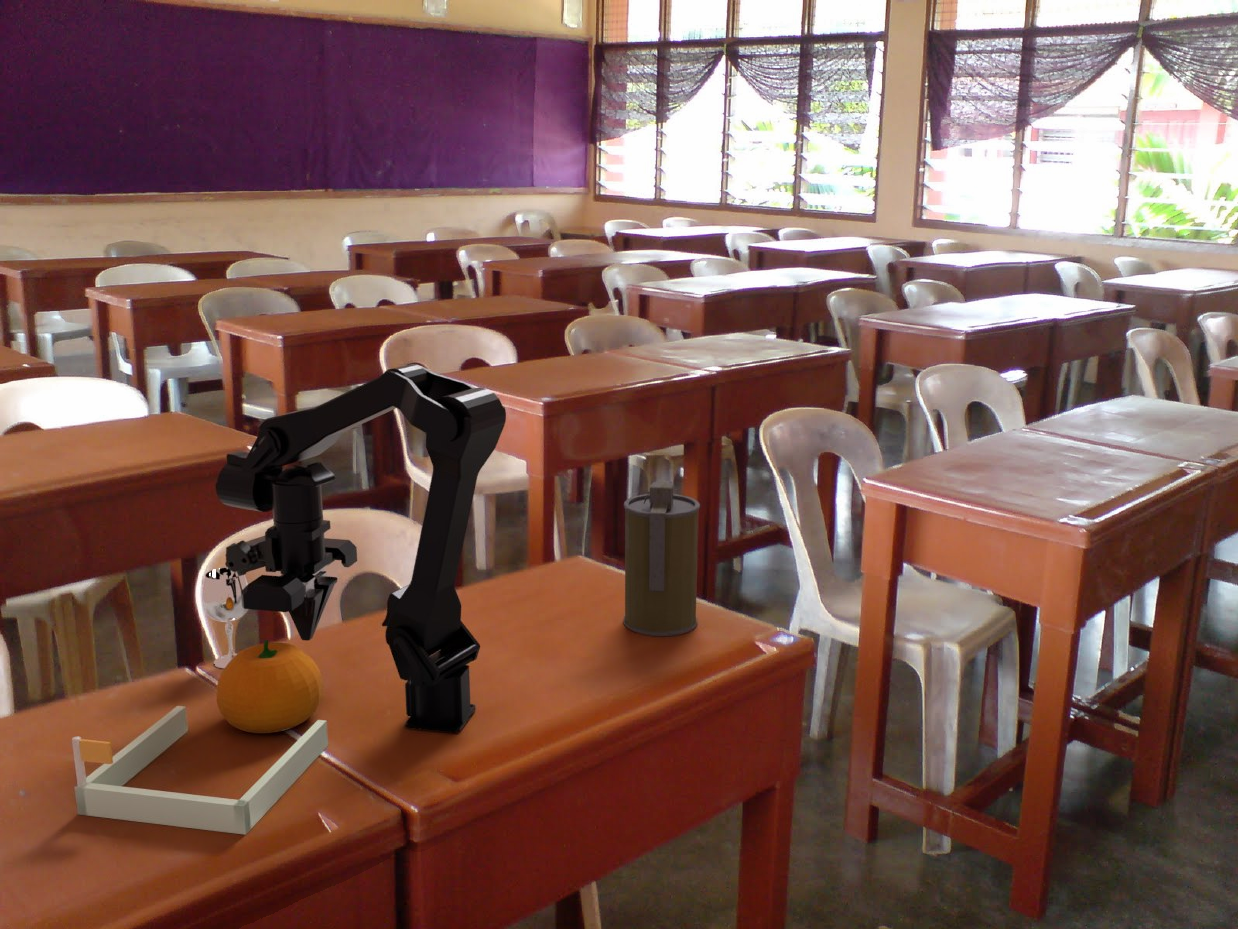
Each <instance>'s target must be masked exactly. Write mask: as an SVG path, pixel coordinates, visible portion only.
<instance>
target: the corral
mask: <svg viewBox="0 0 1238 929" xmlns="http://www.w3.org/2000/svg"><path fill="white" fill-rule="evenodd" d="M187 718H188V716H187V707H186V706H183V705H176V706H175V707H174V708H173V709H172V710H170V711H169V712H168V713H167V714H165V715H164V716H163V717H162V718H160V719H159V720H158V721H156V722H155V723H154V724H152V726H150V727H149V728H148V729H146V730H145V731H144V732H142V733H141V734H139V736H137V737H136V738H135V739H133V740H132V741H131V742H130V743H128V744H127V745H126V746H124V747H123V748H122V749H121V750H119V751H118V752H117V753H115V754H114V755H113V750H112V743H111V741H102V740H95V739H94V740H92V739H84V738H82V737H81V736H73V737H72V738H71V742H72V745H71V746H72V753H73V759H74V767H75V775H76V783H77V784H76V785H75V786H74V795H75V801H76V802H75V803H76V810H77V815H79V816H80V815H82V816H88V817H89V816H90V817H96V818H97V817H98V818H104V819H105V818H106V819H107V818H108V819H114V820H122V821H131V822H139V823H145V824H146V823H148V824H155V825H165V826H171V827H178V828H185V829H186V828H188V829H189V828H190V829H196V830H202V831H203V830H206V831H210V832H211V831H212V832H213V831H214V832H221V833H230V834H236V835H237V834H239V835H244V836H245V835H247V834H249V832H250V831H251V830H252V828H254V826H256V824H257V823H258V822H259V821H260V820H261V819H262V818H263V816H265V814H267V812H268V811H269V810H270V809H271V808H272V807H273V806H274V805H275V804H276V803H277V802H278V801H279V799H281V798H282V796H283V795H284V794H286V792H287V791H288V790H289V789H290V788H291V786H293V784H294V783H295V782H296V781H298V779H299V778H300V777H301V775H302V774H303V773H304V772H305V771H306V770H307V769H308V768H309V767H310V766H311V765H312V764H313V763H314V762H315V760H316V759H318V758H319V756H320V755H321V754H322V753H323V752H324V751H325V750H326V749H327V748H328V747H329V738H328V723H327V720H325V719H324V720H323V719H317V720H316V722H314V724H312V725H311V726H310V727H309V729H307V731H306V732H305V733H303V735H302V736H300V737H299V738H298V739H297V741H295V742H294V744H292V745H291V747H290V748H288V749H287V750H286V752H285V753H284V754H283V755H282V756H280V757H279V759H278V760H277V761H276V762H275V763H274V764H273V765H272V766H271V767H270V768H269V769H268V770H267V771H266V772H265V773H264V774H263V775H262V776H261V777H260V778H259V779H258V780H257V781H256V782H255V783H254V784H253V785H252V786H251V787H250V788H249V789H248V790H247V791H246V792H245V793H244V794H243V796H241V797H240V798H239V799H232V798H225V797H224V798H223V797H216V796H207V795H199V794H192V793H191V794H189V793H182V792H173V791H163V790H156V789H148V788H140V787H139V788H138V787H130V786H124V785H125V784H126V783H128V782H129V781H130V780H131V779H133V778H134V777H135V776H136V775H137V774H138V773H139V772H141V771H142V770H143V769H144V768H146V767H147V766H148V765H149V764H151V762H154V760H155V759H157V758H158V757H159V756H160V755H161V754H162V753H164V752H165V751H166V750H167V749H168V748H170V746H172V745H173V744H174V743H175V742H176V741H178V740H180V739H181V737H183V736H184V735H185V734H186V733H187V732H189V726H188V719H187ZM86 762H89V763H98V764H101V765H100V766H99V767H97V768H96V769H95V770H94V771H92V772H91V773H90V774H89V775H88V776H86V775H87V774H86V768H85V763H86Z"/></svg>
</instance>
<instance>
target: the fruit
mask: <svg viewBox="0 0 1238 929" xmlns="http://www.w3.org/2000/svg"><path fill="white" fill-rule="evenodd" d="M236 654H237V655H236V656H235V657H233V658H232V660H231V661H230V662H229V663H228V664H227V666H226V667H225V668H223V670H222V671H221V673H220V675H219V677H218V679H217V684H216V704H217V708H218V710H219V713H220V714H221V715H222V717H223V718H224V719H225V721H227V722H228V723H229V725H231V726H232V727H233V728H236V729H238V730H241V731H244V732H247V733H251V734H252V733H253V734H271V733H273V734H274V733H278V732H283V731H287V730H289V729H293V728H294V727H296V726H298V725H301V724H303V723H304V722H305V721H307V720H308V719H309V718H311V716H312V715H314V714H315V712H316V710H317V709H318V707H319V705H320V703H321V700H322V698H323V697H322V696H323V693H324V684H323V680H322V679H323V678H322V674H321V671H320V668H319V666H318V665H317V663H316V661H315V660H314V659H313V658H312V657H311V656H309V654H307V653H306V652H305V651H304V650H302V649H301V648H299V647H297V646H296V645H292V644H289V643H284V642H270V641H269V640H264V643H259V644H255V645H252V646H249V647H246V648H244V649H243V650H241V651H239V652H238V653H236Z"/></svg>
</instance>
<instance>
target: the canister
mask: <svg viewBox="0 0 1238 929" xmlns="http://www.w3.org/2000/svg"><path fill="white" fill-rule="evenodd" d="M674 488H675V487H674V482H673V481H671V480H655V481H654V482H652V484H650V486H649V491H647V493H645V494H639V495H636V496H632V497H629V498H627V499H626V500H624V503H623V508H624V509H625V510H624V512H625V514H624V518H625V519H624V521H625V522H624V530H625V531H624V533H625V534H624V535H625V536H624V542H625V543H624V544H625V545H624V547H625V548H624V563H625V564H624V616H623V619H622V620H623V624H624V626H625V627H626V628H627V629H628V630H630V631H633V632H634V633H638V634H641V635H645V636H651V637H673V636H679V635H683V634H686V633H689V632H691V631H693V630H694V629H695V628H696V627H697V626H698V622H699V620H698V617H697V586H698V585H697V581H698V576H697V575H698V547H699V546H698V545H699V544H698V542H699V541H698V539H699V510H700V507H701V504H700V502H699V501H698V500H696V499H695V498H693V497H691V496H687V495H681V494H676V493H674Z"/></svg>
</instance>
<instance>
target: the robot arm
mask: <svg viewBox="0 0 1238 929" xmlns="http://www.w3.org/2000/svg"><path fill="white" fill-rule="evenodd" d="M395 409H398V410H399V411H400V412H401V415H403V416H404V418H405V419H406V420H407V422H408V423H409V424H410V425H411V426H412V427H414V428H416V429H418V430H420V431H421V432H423V433H425V440H424V441H425V444H424V445H425V448H426V451H427V454H428V456H429V459H430V462H431V464H432V474H431V478H430V479H431V480H430V483H429V488H428V492H427V500H426V502H425V503H426V504H425V505H426V506H425V509H424V515H423V519H422V523H421V530H420V535H419V541H418V545H417V550H416V556H415V559H414V564H413V565H414V566H413V570H412V576H411V580H410V581H409V582H410V583H409V584H407V585H406V586H403V587H401V588H399V589H396V590H395V591H394V592H391V593H389V596H388V599H387V600H386V601H387V602H386V615H385V617H384V620H383V622H382V623H381V626H382V627H386V628H385V634H384V635H385V643H386V644H387V645H388V648H389V650H390V653H391V655H392V658H393V662H394V665H395V667H396V670H397V673H398V676H399V678H400V679H401V680H402V681H406V682H405V684H404V692H405V693H404V694H405V708H406V709H405V713H406V716H407V717H408V719H407V720H406V721H405V722H404V727H405V728H406V729H413V730H421V731H422V730H423V731H433V732H444V733H450V734H451V733H454V734H457V733H460V732H461V731H462V730H463V728H464V726H465V725H466V723H467V722H468V721H469V719H470V718H471V716H472V715H473V714H474V712H475V711H476V707H477V706H476V704H473V703H471V682H470V681H471V679H470V665H468V664H470V663H471V662H474V661H476V660H477V658H478V655H479V652H480V649H481V645H480V643H479V642H478V640H477V639H476V638H475V637H474V635H473V634H472V633H471V631H470V630H469V629H468V628H467V626H466V625H465V623H463V621H462V602H461V599H460V598H459V595H458V592H457V590H456V581H457V580H456V579H457V574H458V570H459V566H460V561H461V556H462V551H463V547H464V542H465V538H466V532H467V528H468V523H469V518H470V514H471V510H472V504H473V499H474V495H475V490H476V486H477V481H478V475H479V474H480V471H481V469H483V466H485V464H486V462H487V461H488V460H489V459H490V457H491V456H492V454H493V452H494V451H495V450H496V447H497V445H498V442H499V440H500V437H501V435H502V433H503V431H504V427H505V424H506V421H507V420H506V419H507V412H506V408H505V406H504V405H503V404H502V402H501V400H500V398H499V397H498V396H497V395H496V393H495V392H493V391H491V390H490V389H489V388H485V387H482V386H478V387H475V386H473V385H471V384H470V383H468V382H466V381H463V380H460V379H456V378H453V377H449V376H446V375H442V374H439V373H436V372H434V371H432V370H430V369H428V368H426V367H424V366H422V365H419V364H416V363H411V364H405V365H402V366H398V367H393V368H389V369H387V370H385V371H384V373H382V374H381V375H380V376H377V377H375V378H374V379H371V380H368V381H367V382H365V383H363V384H361V385H358V386H357V387H354V388H352V389H351V390H348V391H346V392H344V393H342V394H340V395H338V396H336V397H333V398H332V399H329V400H327V401H325V402H324V403H321V404H319V405H316V406H312V407H308V408H303V409H299V410H296V411H292V412H291V411H290V412H287V413H284V414H279V415H276V416H272V417H268V418H265V419H263V420H262V421H261V422H260V424H258V428H257V429H258V434H257V438H256V439H255V441H254V443H253V444H252V447H251V448H250V450H249V452H247V451H243V450H237V451H233V452H229V453H227V454H226V464H225V465H224V466H222V468H221V470H220V471H219V473H218V476H217V480H216V483H215V493H216V495H217V499H218V500H220V502H221V503H222V504H223V505H225V506H229V507H233V508H239V509H245V510H251V511H256V512H261V513H267V512H270V511H272V520H273V525H272V526H270V527H269V528H267V529H266V530H265V533H264V535H262V536H260V537H257V538H253V539H249V540H247V541H245V540H241V541H238V542H237V543H236V542H234V543H231V544H230V545H228V546H227V547H225V554H224V555H225V556H224V557H225V563H224V564H225V566H226V567H228V568H229V569H230V570H231V571H233V572H237V574H238V576H242V575H245V576H246V575H247V573H249V572H253V571H255V570H259V569H261V568H264V567H265V568H264V569H265V573H266V572H267V573H276V572H280V575H269V574H266V575H265V574H261V575H259V576H258V577H257V578H255V579H254V580H253V581H251V582H250V583H248V585H247V586H246V587H245V588H244V589H243V590H242V591H241V599H242V607H243V608H244V609H248V610H255V611H267V612H277V613H289V615H290V617H291V620H292V622H293V623H294V627H295V628H296V631H297V632H298V635H299V637H300V640H302V641H310V640H311V639H312V638H313V637H314V635H315V632H316V630H317V627H318V625H319V623H320V620H321V618H322V616H323V614H324V613H323V612H324V610H325V608H326V606H327V603H328V601H329V598H330V596H331V594H332V592H333V590H334V588H335V585H336V584H337V583H338V580H339V579H338V577H337V576H328V572H327V571H326V570H325V568H327V567H328V566H329V565H331V564H332V563H333V562H335V561H341V565H342V566H343V568H350V567H351V566H353V565H354V564H356V562H358V551H357V548H358V547H357V546H356V545H355V544H354V543H353V542H352V541H351V540H350V539H340V538H327V537H325V533H326V532H327V531H329V530H331V520H328V519H327V520H324V510H323V509H324V508H323V497H322V494H323V493H322V485H326V484H328V483H330V482H333V481H336V475H335V474H334V473H333V472H332V471H331V470H329V469H328V468H326V467H325V465H323V462H321V461H317V462H316V461H315V462H313V463H311V464H307V465H306V466H304V465H299V464H296V465H295V464H294V463H297V462H300V461H303V460H304V461H305V460H308V459H309V458H314V457H317V456H319V455H321V454H323V453H324V452H325V451H326V450H328V449H329V448H330V447H332V446H333V445H334V444H336V443H337V441H338V440H339V438H340V437H341V436H342V435H343V434H344V433H346V432H348V431H350V430H352V429H354V428H356V427H358V426H361V425H362V424H364V423H367V422H370V421H371V420H373V419H375V418H378V417H380V416H382V415H384V414H386V413H389V412H390V411H393V410H395ZM291 464H294V465H291ZM287 465H290V466H288V467H286V468H285V469H284V468H283V467H285V466H287ZM226 567H225V568H226Z"/></svg>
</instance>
